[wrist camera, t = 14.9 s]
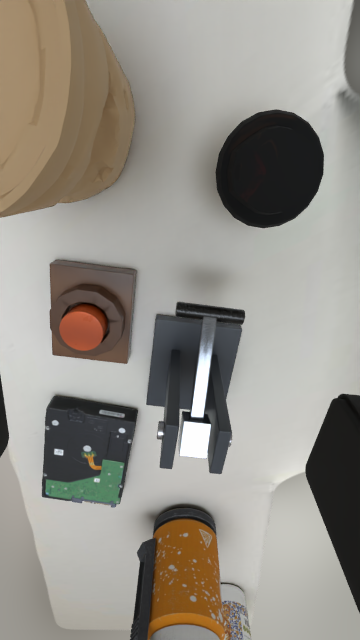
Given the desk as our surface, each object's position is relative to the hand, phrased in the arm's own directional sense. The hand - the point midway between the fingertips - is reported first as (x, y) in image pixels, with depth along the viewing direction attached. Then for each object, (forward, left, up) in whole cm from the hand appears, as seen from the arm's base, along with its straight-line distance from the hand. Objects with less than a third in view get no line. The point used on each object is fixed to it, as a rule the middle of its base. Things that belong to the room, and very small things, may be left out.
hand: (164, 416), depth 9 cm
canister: (+40, +5, -24) cm, 47 cm away
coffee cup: (-7, +5, -25) cm, 26 cm away
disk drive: (+27, -8, -25) cm, 37 cm away
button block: (+8, -8, -24) cm, 27 cm away
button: (+8, -8, -21) cm, 24 cm away
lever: (+9, +3, -16) cm, 19 cm away
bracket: (+13, +3, -24) cm, 28 cm away
